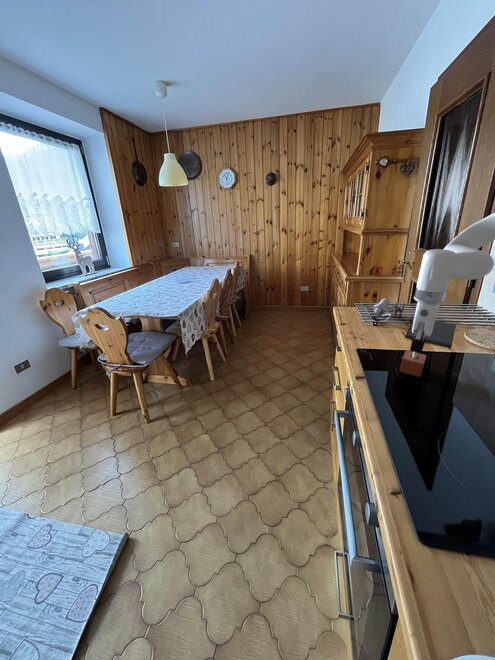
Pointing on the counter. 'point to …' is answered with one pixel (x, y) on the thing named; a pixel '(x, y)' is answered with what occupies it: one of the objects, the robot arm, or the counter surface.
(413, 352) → the stylus
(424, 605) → the counter surface
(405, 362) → the reddish-brown block
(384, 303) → the clip-on lamp
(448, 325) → the plate
